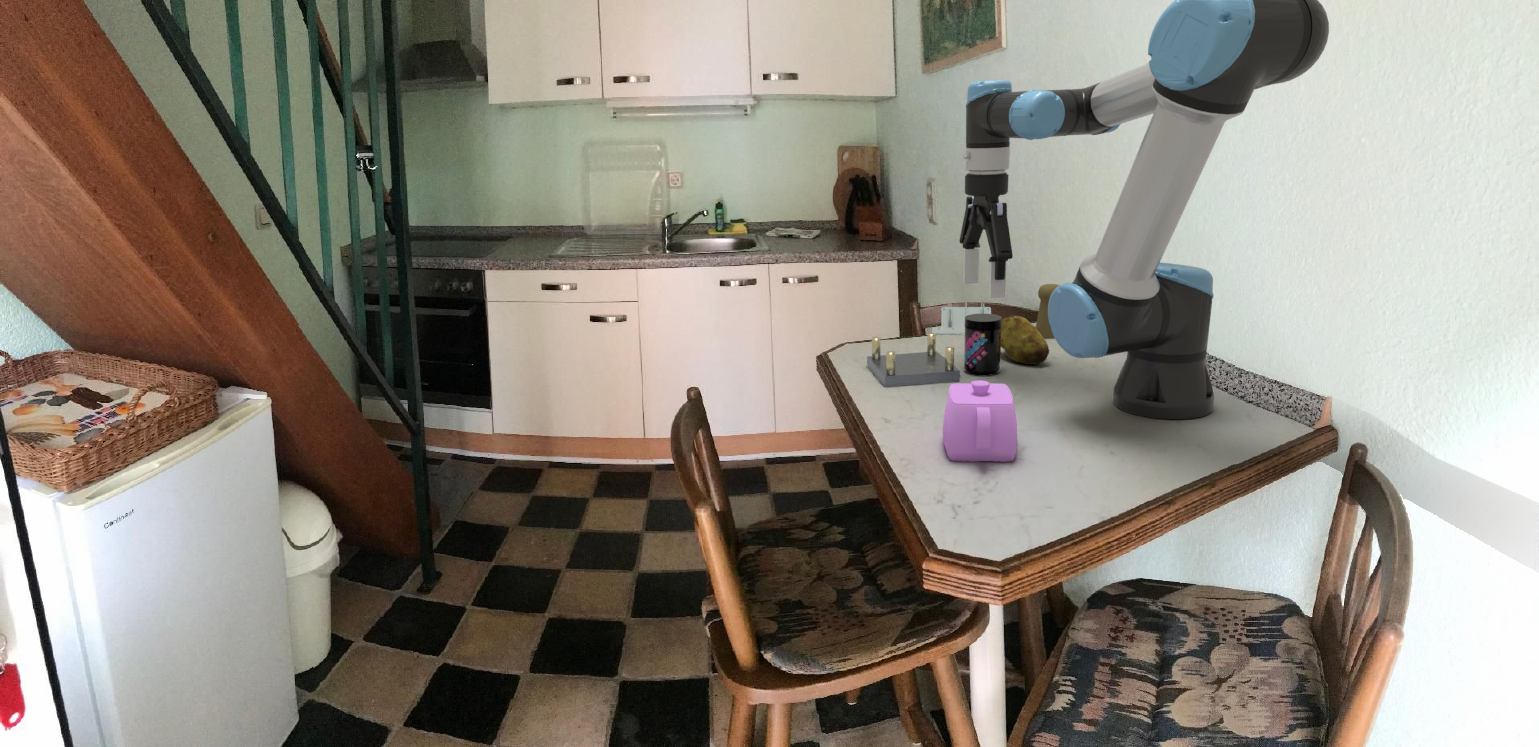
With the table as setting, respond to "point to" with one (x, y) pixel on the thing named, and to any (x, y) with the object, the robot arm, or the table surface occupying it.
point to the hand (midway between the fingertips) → (983, 290)
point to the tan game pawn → (1045, 310)
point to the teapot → (980, 422)
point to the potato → (1023, 341)
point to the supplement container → (982, 344)
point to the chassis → (913, 365)
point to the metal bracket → (957, 319)
